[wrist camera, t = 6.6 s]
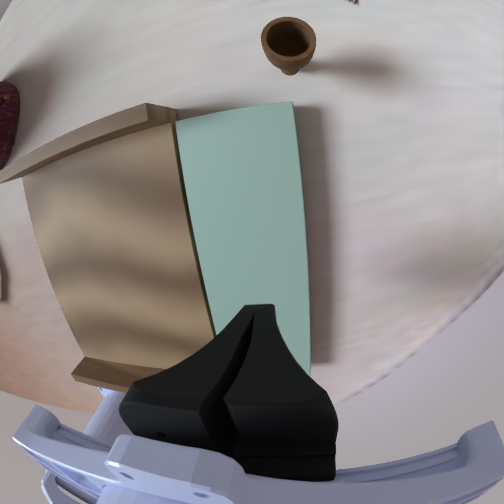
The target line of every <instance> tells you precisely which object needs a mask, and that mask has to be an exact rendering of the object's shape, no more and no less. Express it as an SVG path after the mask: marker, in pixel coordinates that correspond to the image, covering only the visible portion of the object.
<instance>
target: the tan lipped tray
mask: <svg viewBox="0 0 504 504" xmlns="http://www.w3.org/2000/svg"><path fill="white" fill-rule="evenodd" d="M175 121H178V119H177V112H176V109H173V108H168V107H164V106H159V105H154V104H149V103H144V104H141V105H138V106H135V107H132V108H129V109H126V110H123V111H120V112H117V113H115V114H112V115H109V116H107V117H104V118H102V119H99V120H97V121H94V122H92V123H90V124H87V125H85V126H83V127H80V128H78V129H76V130H74V131H71V132H69V133H67V134H65V135H63V136H61V137H59V138H57V139H55V140H53V141H51V142H49V143H47V144H45V145H43V146H41V147H39V148H37V149H36V150H34V151H32V152H30V153H28V154H27V155H25V156H23V157H21V158H20V159H18V160H16V161H15V162H13V163H11V164H10V165H8V166H7V167H5V168H4V169H2V170H0V184H1V183H4V182H7V181H10V180H13V179H17V178H20V177H22V179H23V185H24V190H25V195H26V200H27V204H28V209H29V213H30V217H31V221H32V225H33V229H34V232H35V236H36V239H37V243H38V246H39V249H40V253H41V256H42V259H43V262H44V265H45V268H46V270H47V273H48V276H49V279H50V281H51V284H52V287H53V289H54V292H55V294H56V297H57V299H58V302H59V304H60V306H61V309H62V311H63V313H64V315H65V318H66V320H67V322H68V324H69V326H70V328H71V330H72V332H73V335H74V337H75V339H76V341H77V343H78V344H79V346H80V348H81V350H82V352H83V354H84V356H85V357H84V358H83V360H82V361H81V362H80V363H79V364H78V366H77V367H76V368H75V369H74V371H73V372H72V373H71V375H72V376H73V378H74V379H75V381H79V382H82V383H86V384H89V385H93V386H97V387H101V388H105V389H109V390H113V391H118V392H122V393H127V391H128V390H129V388H130V387H131V385H132V383H133V382H134V381H137V380H140V379H143V378H146V377H149V376H151V375H154V374H157V373H159V372H161V371H164V370H166V369H168V368H170V367H172V366H174V365H176V364H178V363H179V362H181V361H183V360H184V359H186V358H188V357H189V356H191V355H193V354H194V353H196V352H197V351H198V350H200V349H201V348H202V347H204V346H205V345H206V344H208V343H209V342H210V341H211V340H212V339H213V338H214V337H215V336H216V331H215V327H214V323H213V319H212V314H211V310H210V306H209V302H208V297H207V293H206V289H205V284H204V280H203V275H202V270H201V266H200V261H199V256H198V252H197V247H196V242H195V237H194V232H193V227H192V221H191V216H190V211H189V205H188V200H187V194H186V188H185V182H184V177H183V170H182V164H181V158H180V152H179V145H178V138H177V131H176V124H175Z"/></svg>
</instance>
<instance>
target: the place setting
mask: <svg viewBox="0 0 504 504" xmlns="http://www.w3.org/2000/svg"><path fill="white" fill-rule="evenodd" d="M350 1H351V0H349V2H350ZM356 2H357V0H355V2H354V4H355V3H356ZM261 42H262V47H263V50H264V52H265V54H266V56H267V58H268V60H269V61H270V62H271V63H272V64H273V65H274V66H276V67H278V68H280V69H281V71H282V72H283V73H284V74H286V75H294V74H296V73H297V72H298V71H299V69H301V68H303V67H304V66H306V65H307V64H308V63H309V61H310V60H311V58H312V56H313V54H314V51H315V47H316V36H315V33H314V31H313V29H312V28H311V27H310V26H309V25H308V24H307V23H306V22H304V21H302V20H300V19H297V18H293V17H281V18H277V19H275V20H273V21H271V22H269V23H268V24H267V25H266V26H265V28H264V29H263V31H262V34H261Z"/></svg>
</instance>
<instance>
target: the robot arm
mask: <svg viewBox="0 0 504 504" xmlns="http://www.w3.org/2000/svg"><path fill="white" fill-rule="evenodd" d="M98 389H99V390H100V392H101V393H102V395H103V397H104V399H103V401H102V402H101V404H100V406H99V407H98V409H97V410H96V412H95V413H94V415H93V417H92V418H91V420H90V421H89V423H88V425H87V427H86V428H85V430H84V431H83V433H81V432H79V431H76V430H74V429H72V428H69V427H67V426H65V425H63V424H61V423H60V421H59V420H58V419H57V418H56V417H55V415H54V414H52V413H51V412H50V411H48V410H46V409H44V408H42V407H40V406H38V405H35V407H34V408H33V409H32V411H31V412H30V413H29V415H28V416H27V417H26V419H25V420H24V421H23V423H22V424H21V425H20V427H19V428H18V430H17V431H16V432H15V434H14V435H13V439H14V440H15V441H16V442H17V443H18V444H19V445H20V446H21V447H22V448H23V449H24V450H25V451H26V452H27V453H28V454H29V455H30V456H31V457H32V458H33V459H34V460H36V461H37V462H38V463H39V464H40V465H41V466H42V467H44V468H46V471H45V475H44V477H43V478H42V481H41V484H42V486H41V488H42V490H43V492H44V494H45V496H46V498H47V500H48V501H49V503H50V504H80V503H79V502H77V501H75V500H74V499H72V498H70V497H69V496H67V495H65V494H64V493H63V492H62V491H61V490H60V489H59V488H58V486H57V485H59V486H60V487H62V488H63V489H65V490H66V491H68V492H70V493H71V494H73V495H74V496H76V497H78V498H79V499H81V500H83V501H85V502H86V503H88V504H466V503H468V502H470V501H473V500H475V499H477V498H479V497H480V496H481V495H483V494H484V493H485V492H487V491H488V490H489V489H491V488H492V487H493V486H495V485H496V484H497V483H498V482H500V480H502V479H503V478H504V446H503V443H502V441H501V438H500V436H499V433H498V431H497V428H496V426H495V424H494V422H493V421H489V422H487V423H485V424H482V425H480V426H478V427H475V428H473V429H471V430H468V431H467V432H466V433H464V434H463V435H462V436H461V437H460V439H459V441H458V443H456V444H453V445H450V446H448V447H445V448H441V449H438V450H435V451H432V452H428V453H425V454H421V455H417V456H413V457H409V458H405V459H401V460H397V461H392V462H387V463H382V464H376V465H371V466H364V467H357V468H349V469H340V470H336V466H335V454H336V444H335V442H336V437H337V432H338V418H337V415H336V411H335V409H334V406H333V404H332V402H331V400H330V398H329V396H328V394H327V392H326V391H325V390H324V389H323V388H322V387H320V386H319V385H318V384H317V383H316V382H315V381H314V380H313V379H312V378H311V377H310V376H309V375H308V374H307V373H306V372H305V371H304V369H303V368H302V367H301V366H300V365H299V364H298V362H297V361H296V359H295V358H294V357H293V355H292V354H291V352H290V350H289V349H288V347H287V345H286V343H285V341H284V339H283V337H282V335H281V333H280V330H279V327H278V325H277V321H276V311H275V305H273V304H252V305H244V306H243V307H242V309H241V310H240V311H239V312H238V313H237V314H236V315H235V317H234V318H233V319H232V320H231V321H230V322H229V323H228V324H227V325H226V326H225V328H224V329H223V330H222V331H221V332H220V333H219V334H218V335H216V336H215V337H214V338H213V339H212V340H211V341H210V342H209V343H208V344H206V345H205V346H204V347H202V348H201V349H200V350H198V351H197V352H196V353H194V354H193V355H191V356H189V357H188V358H186V359H184V360H183V361H181V362H179V363H178V364H176V365H174V366H172V367H170V368H168V369H166V370H164V371H161V372H159V373H157V374H154V375H151V376H149V377H146V378H143V379H140V380H137V381H134V382H133V383H132V385H131V387H130V388H129V390H128V391H127V393H122V392H118V391H113V390H109V389H105V388H101V387H98ZM55 475H56V477H55Z"/></svg>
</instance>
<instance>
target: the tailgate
mask: <svg viewBox="0 0 504 504" xmlns="http://www.w3.org/2000/svg"><path fill="white" fill-rule="evenodd" d="M175 124H176V131H177V138H178V145H179V152H180V158H181V164H182V170H183V177H184V182H185V188H186V194H187V200H188V205H189V211H190V216H191V221H192V227H193V232H194V237H195V242H196V247H197V252H198V256H199V261H200V266H201V270H202V275H203V280H204V284H205V289H206V293H207V297H208V302H209V306H210V310H211V314H212V319H213V323H214V327H215V331H216V335H218V334H219V333H220V332H221V331H222V330H223V329H224V328H225V326H226V325H227V324H228V323H229V322H230V321H231V320H232V319H233V318H234V317H235V315H236V314H237V313H238V312H239V311H240V310H241V309H242V307H243V306H244V305H252V304H273V305H275V311H276V321H277V325H278V327H279V330H280V333H281V335H282V337H283V339H284V341H285V343H286V345H287V347H288V349H289V350H290V352H291V354H292V355H293V357H294V358H295V359H296V361H297V362H298V364H299V365H300V366H301V367H302V368H303V369H304V371H305V372H306V373H307V374H308V375H309V376H310V372H311V327H310V292H309V270H308V251H307V235H306V221H305V208H304V197H303V185H302V175H301V165H300V156H299V147H298V138H297V130H296V122H295V115H294V107H293V103H292V102H282V103H273V104H265V105H257V106H251V107H244V108H238V109H232V110H226V111H221V112H216V113H211V114H206V115H201V116H196V117H192V118H188V119H183V120H179V121H175Z"/></svg>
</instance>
